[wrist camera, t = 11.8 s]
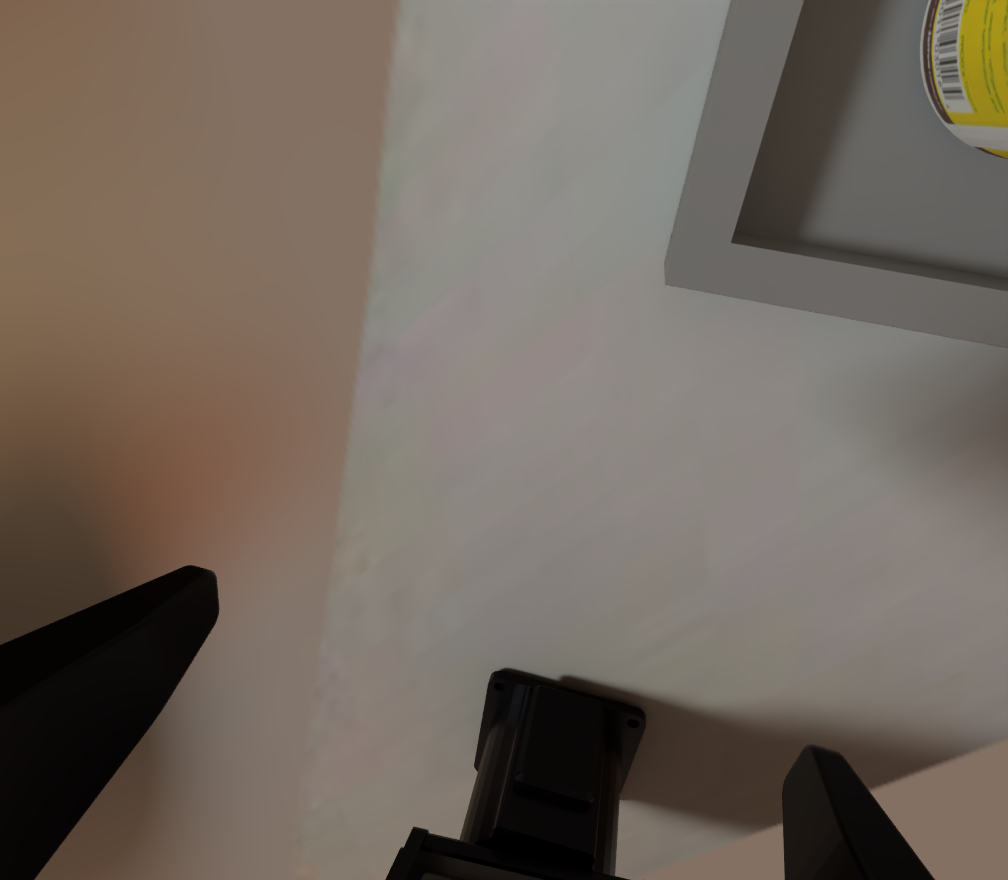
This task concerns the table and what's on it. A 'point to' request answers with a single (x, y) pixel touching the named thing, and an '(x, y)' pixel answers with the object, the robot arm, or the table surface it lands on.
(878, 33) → the tray
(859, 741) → the table surface
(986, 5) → the supplement bottle
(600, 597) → the table surface
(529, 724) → the robot arm
